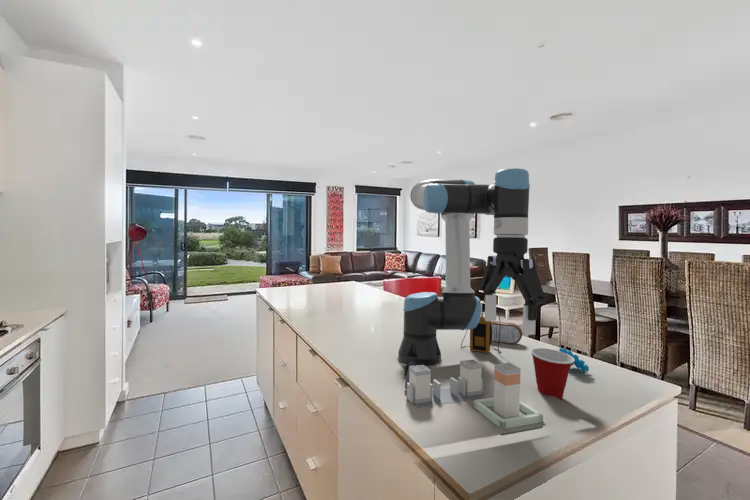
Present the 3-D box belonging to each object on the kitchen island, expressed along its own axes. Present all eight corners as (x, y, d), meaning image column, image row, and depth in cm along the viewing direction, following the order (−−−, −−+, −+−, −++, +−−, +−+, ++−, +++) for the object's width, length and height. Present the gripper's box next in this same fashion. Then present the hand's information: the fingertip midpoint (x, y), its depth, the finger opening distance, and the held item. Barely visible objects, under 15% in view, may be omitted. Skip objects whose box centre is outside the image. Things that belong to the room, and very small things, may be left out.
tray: (473, 412, 89) (473, 400, 89) (510, 406, 92) (510, 394, 92) (501, 435, 78) (502, 422, 78) (542, 428, 82) (543, 414, 82)
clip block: (402, 399, 95) (403, 379, 95) (471, 390, 102) (471, 371, 102) (415, 413, 88) (415, 391, 88) (488, 402, 94) (488, 381, 94)
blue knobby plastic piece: (597, 371, 113) (573, 348, 113) (584, 385, 112) (561, 362, 113) (575, 364, 124) (554, 343, 124) (564, 377, 123) (543, 356, 124)
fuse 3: (493, 413, 86) (494, 364, 86) (507, 411, 88) (508, 362, 87) (504, 422, 83) (505, 370, 82) (519, 419, 84) (520, 368, 84)
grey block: (408, 396, 94) (409, 366, 93) (423, 394, 95) (423, 364, 95) (415, 403, 90) (415, 371, 90) (430, 401, 91) (430, 370, 91)
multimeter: (504, 348, 142) (505, 298, 141) (498, 355, 133) (499, 301, 133) (468, 342, 150) (469, 294, 149) (460, 348, 141) (460, 297, 141)
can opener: (404, 374, 114) (404, 357, 114) (426, 377, 112) (426, 359, 112) (393, 398, 96) (394, 378, 96) (419, 401, 95) (420, 380, 95)
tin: (522, 344, 149) (522, 323, 148) (521, 346, 146) (522, 325, 146) (484, 339, 155) (484, 319, 155) (483, 341, 152) (483, 321, 152)
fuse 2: (459, 390, 98) (459, 361, 98) (472, 388, 100) (473, 359, 99) (467, 396, 94) (468, 366, 94) (481, 394, 96) (481, 364, 95)
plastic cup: (572, 410, 91) (573, 362, 90) (526, 399, 96) (527, 355, 96) (575, 394, 100) (576, 351, 99) (532, 385, 105) (533, 345, 105)
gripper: (466, 236, 95) (465, 316, 95) (536, 236, 71) (533, 343, 72) (491, 236, 97) (489, 315, 98) (566, 236, 73) (563, 340, 74)
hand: (508, 327), depth 85 cm, fingers open, 13 cm apart
